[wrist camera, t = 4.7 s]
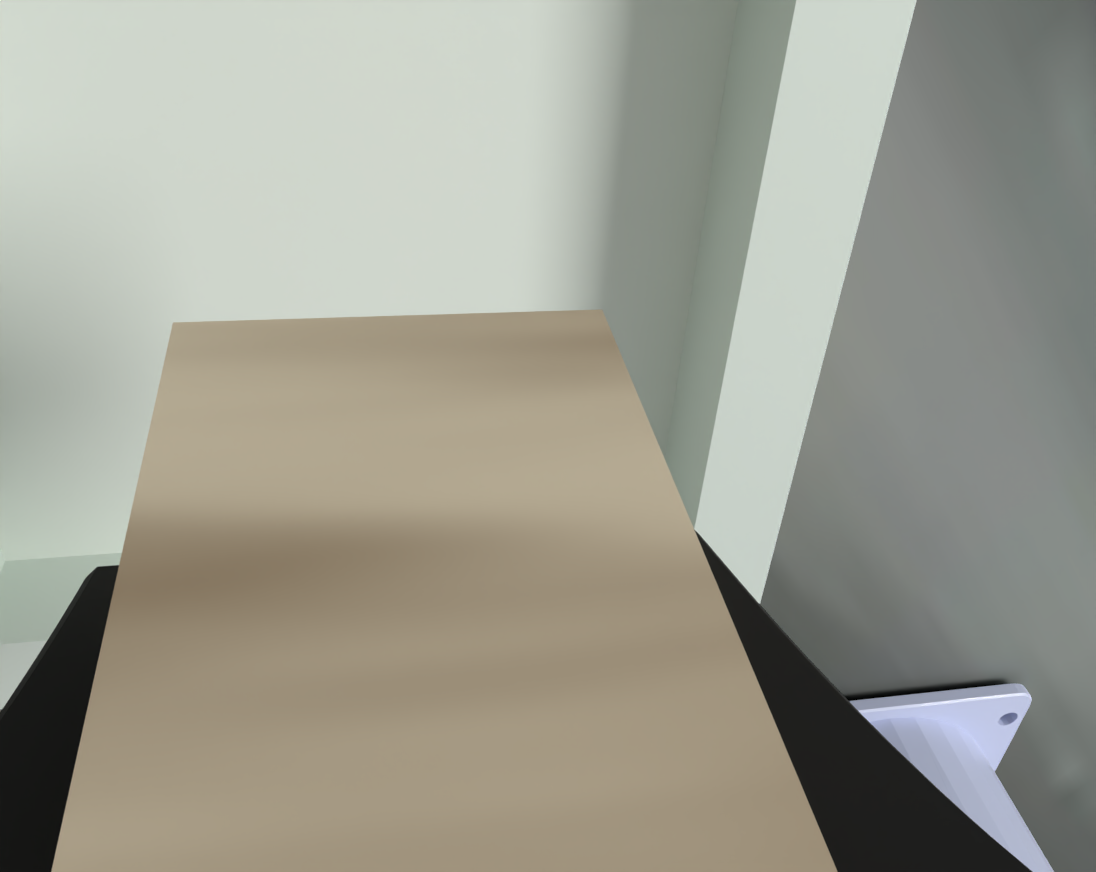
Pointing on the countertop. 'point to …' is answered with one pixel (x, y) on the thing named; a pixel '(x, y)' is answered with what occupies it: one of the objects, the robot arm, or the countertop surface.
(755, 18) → the tray
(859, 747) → the robot arm
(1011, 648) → the countertop surface
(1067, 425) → the countertop surface
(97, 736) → the maple block
